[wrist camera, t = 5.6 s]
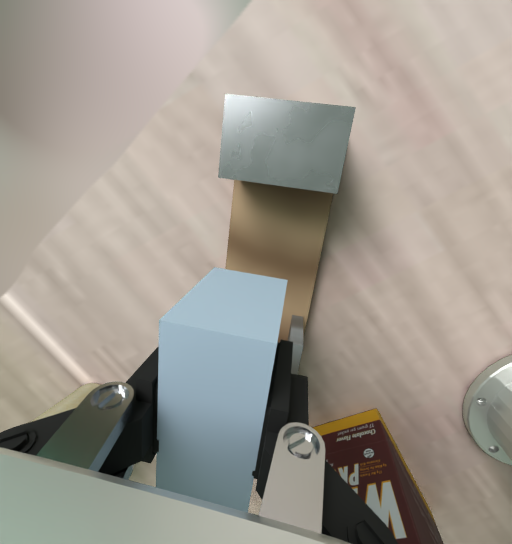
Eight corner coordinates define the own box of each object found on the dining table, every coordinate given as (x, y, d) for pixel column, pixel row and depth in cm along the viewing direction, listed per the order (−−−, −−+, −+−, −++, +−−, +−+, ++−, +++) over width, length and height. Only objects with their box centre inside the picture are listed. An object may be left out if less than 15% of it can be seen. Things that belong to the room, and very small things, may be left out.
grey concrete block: (245, 117, 21) (225, 93, 16) (341, 128, 21) (355, 107, 15) (238, 179, 23) (218, 177, 17) (328, 191, 22) (337, 193, 16)
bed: (243, 121, 23) (223, 98, 17) (344, 132, 22) (359, 113, 16) (221, 337, 29) (200, 375, 23) (299, 352, 28) (298, 396, 22)
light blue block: (214, 267, 12) (159, 320, 8) (287, 280, 12) (277, 343, 7) (200, 439, 15) (154, 552, 11) (257, 453, 15) (236, 576, 10)
